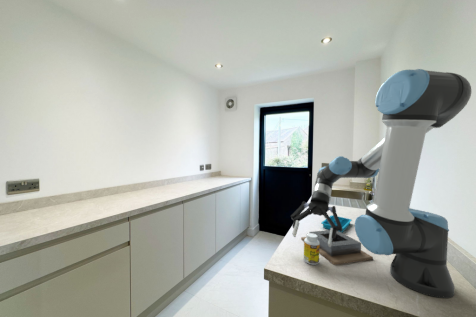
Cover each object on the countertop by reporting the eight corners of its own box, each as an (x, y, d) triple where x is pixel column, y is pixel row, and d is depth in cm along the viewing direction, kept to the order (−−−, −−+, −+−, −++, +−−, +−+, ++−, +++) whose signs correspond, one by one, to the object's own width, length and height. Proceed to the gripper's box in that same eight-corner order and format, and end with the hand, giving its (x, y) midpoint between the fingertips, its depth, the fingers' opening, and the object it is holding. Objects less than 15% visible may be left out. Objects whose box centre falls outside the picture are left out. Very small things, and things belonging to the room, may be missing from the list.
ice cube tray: (352, 224, 115) (352, 219, 115) (343, 234, 100) (343, 228, 100) (331, 219, 123) (331, 215, 123) (320, 228, 108) (320, 223, 108)
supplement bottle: (309, 266, 70) (309, 238, 70) (300, 258, 75) (301, 232, 75) (322, 264, 71) (323, 237, 71) (313, 256, 77) (313, 231, 77)
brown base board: (372, 259, 76) (372, 256, 76) (334, 264, 71) (334, 262, 71) (332, 236, 97) (332, 234, 97) (301, 239, 93) (301, 237, 93)
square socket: (360, 252, 79) (361, 242, 79) (331, 256, 75) (331, 246, 75) (335, 237, 93) (335, 229, 93) (309, 240, 89) (309, 231, 89)
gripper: (353, 205, 82) (347, 254, 70) (296, 196, 97) (283, 236, 85) (352, 195, 77) (345, 245, 66) (292, 187, 92) (278, 228, 81)
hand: (310, 240), depth 75 cm, fingers open, 13 cm apart
